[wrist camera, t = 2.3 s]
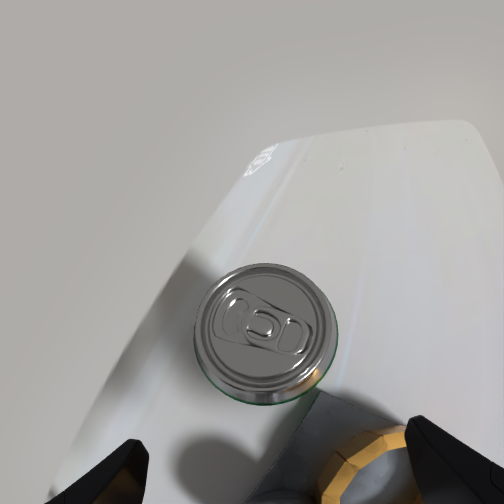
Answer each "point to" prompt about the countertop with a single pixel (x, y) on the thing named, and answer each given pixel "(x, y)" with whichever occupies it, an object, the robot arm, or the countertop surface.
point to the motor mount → (341, 460)
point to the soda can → (265, 334)
